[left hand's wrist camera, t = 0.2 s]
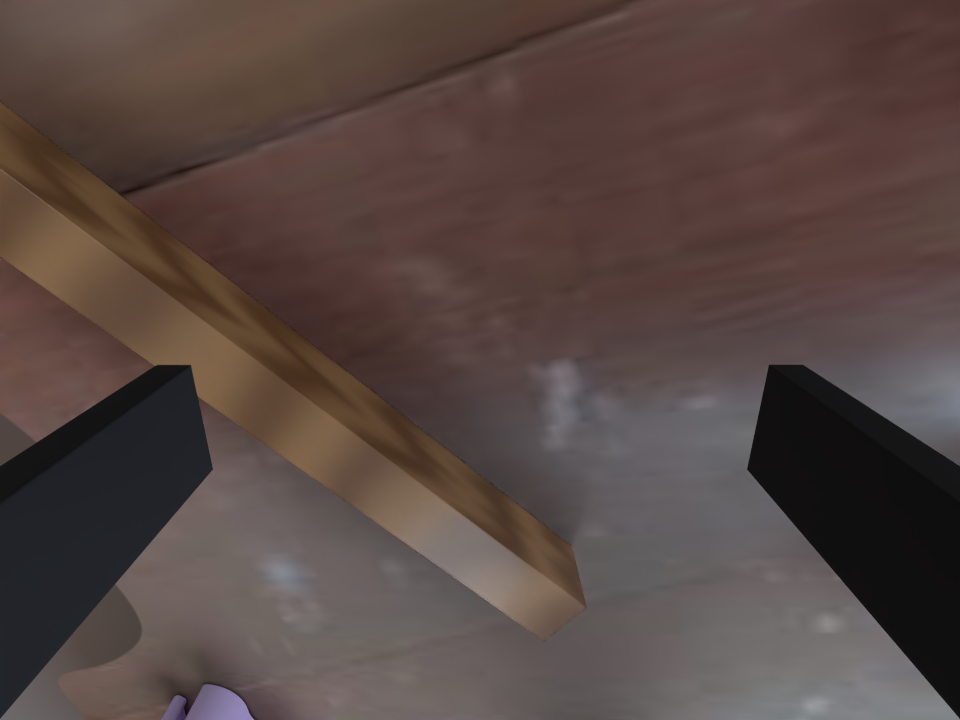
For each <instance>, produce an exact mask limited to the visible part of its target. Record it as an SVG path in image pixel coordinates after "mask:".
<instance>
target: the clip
mask: <svg viewBox="0 0 960 720" xmlns="http://www.w3.org/2000/svg"><path fill="white" fill-rule="evenodd" d="M185 703H186V699H185V698H184V697H182V696H180V695H176V696H174V698H173V700H172V701H171V703H170V705H169V707H168V708H167V710H166V712H165V714H164V715H163V717H162V719H161V720H254V719H253V718H252V717H251V715H250V714H249V711H248V708H247V706H246V705H245V703H244V702H243V700H242V699H241V698H240V697H239V696H237V695H236V694H235V693H233V692H231V691H230V690H228V689H225V688H223V687H220V686H216V685H210V684H205V685H203V687H202V688H201V690H200V692H199V694H198V696H197V698H196V700H195V702H194V703H193V705H192V707H191V709H190V711H189V713H188V715H187V716H186V714H185V711H184V707H185Z"/></svg>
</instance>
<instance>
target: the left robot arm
mask: <svg viewBox="0 0 960 720" xmlns="http://www.w3.org/2000/svg"><path fill="white" fill-rule="evenodd" d="M212 470H213V468H212V463H211V458H210V454H209V449H208V444H207V439H206V435H205V430H204V425H203V420H202V415H201V411H200V406H199V401H198V396H197V392H196V387H195V382H194V377H193V372H192V368H191V365H156V366H155V367H153V368H152V369H150V370H148V371H147V372H145V373H144V374H142V375H141V376H139V377H138V378H136V379H135V380H133V381H131V382H130V383H128V384H127V385H125V386H124V387H122V388H121V389H119V390H118V391H116V392H114V393H113V394H111V395H110V396H108V397H107V398H105V399H104V400H102V401H100V402H99V403H97V404H96V405H94V406H93V407H91V408H90V409H88V410H87V411H85V412H83V413H82V414H80V415H79V416H77V417H76V418H74V419H73V420H71V421H70V422H68V423H66V424H65V425H63V426H62V427H60V428H59V429H57V430H56V431H54V432H53V433H51V434H49V435H48V436H46V437H45V438H43V439H42V440H40V441H39V442H37V443H36V444H34V445H33V446H31V447H29V448H28V449H26V450H25V451H23V452H22V453H20V454H19V455H17V456H15V457H14V458H12V459H11V460H9V461H8V462H6V463H5V464H3V465H1V466H0V718H1V717H2V716H3V715H4V713H5V712H6V711H7V710H8V709H9V708H10V706H11V705H12V704H13V703H14V702H15V700H16V699H17V698H18V697H19V696H20V695H21V693H22V692H23V691H24V690H25V689H26V688H27V686H28V685H29V684H30V683H31V682H32V681H33V679H34V678H35V677H36V676H37V675H38V674H39V672H40V671H41V670H42V669H43V668H44V667H45V665H46V664H47V663H48V662H49V661H50V660H51V658H52V657H53V656H54V655H55V654H56V652H57V651H58V650H59V649H60V648H61V647H62V645H63V644H64V643H65V642H66V641H67V640H68V638H69V637H70V636H71V635H72V634H73V632H74V631H75V630H76V629H77V628H78V627H79V626H80V624H81V623H82V622H83V621H84V620H85V619H86V617H87V616H88V615H89V614H90V613H91V611H92V610H93V609H94V608H95V607H96V606H97V604H98V603H99V602H100V601H101V600H102V599H103V597H104V596H105V595H106V594H107V593H108V592H109V590H110V589H111V588H112V587H113V586H114V585H115V583H116V582H117V581H118V580H119V579H120V577H121V576H122V575H123V574H124V573H125V572H126V570H127V569H128V568H129V567H130V566H131V565H132V563H133V562H134V561H135V560H136V559H137V558H138V556H139V555H140V554H141V553H142V552H143V551H144V549H145V548H146V547H147V546H148V545H149V544H150V542H151V541H152V540H153V539H154V538H155V536H156V535H157V534H158V533H159V532H160V531H161V529H162V528H163V527H164V526H165V525H166V524H167V522H168V521H169V520H170V519H171V518H172V517H173V515H174V514H175V513H176V512H177V511H178V510H179V508H180V507H181V506H182V505H183V504H184V502H185V501H186V500H187V499H188V498H189V497H190V495H191V494H192V493H193V492H194V491H195V490H196V488H197V487H198V486H199V485H200V484H201V483H202V481H203V480H204V479H205V478H206V477H207V476H208V474H209V473H210V472H211V471H212ZM747 470H748V471H749V472H750V473H751V474H752V476H753V477H754V478H755V479H756V480H757V481H758V483H759V484H760V485H761V486H762V487H763V488H764V490H765V491H766V492H767V493H768V494H769V495H770V497H771V498H772V499H773V500H774V501H775V502H776V504H777V505H778V506H779V507H780V508H781V510H782V511H783V512H784V513H785V514H786V515H787V517H788V518H789V519H790V520H791V521H792V522H793V524H794V525H795V526H796V527H797V528H798V529H799V531H800V532H801V533H802V534H803V535H804V536H805V538H806V539H807V540H808V541H809V542H810V544H811V545H812V546H813V547H814V548H815V549H816V551H817V552H818V553H819V554H820V555H821V556H822V558H823V559H824V560H825V561H826V562H827V563H828V565H829V566H830V567H831V568H832V569H833V570H834V572H835V573H836V574H837V575H838V576H839V577H840V579H841V580H842V581H843V582H844V583H845V585H846V586H847V587H848V588H849V589H850V590H851V592H852V593H853V594H854V595H855V596H856V597H857V599H858V600H859V601H860V602H861V603H862V604H863V606H864V607H865V608H866V609H867V610H868V611H869V613H870V614H871V615H872V616H873V617H874V619H875V620H876V621H877V622H878V623H879V624H880V626H881V627H882V628H883V629H884V630H885V631H886V633H887V634H888V635H889V636H890V637H891V638H892V640H893V641H894V642H895V643H896V644H897V645H898V647H899V648H900V649H901V650H902V651H903V653H904V654H905V655H906V656H907V657H908V658H909V660H910V661H911V662H912V663H913V664H914V665H915V667H916V668H917V669H918V670H919V671H920V672H921V674H922V675H923V676H924V677H925V678H926V679H927V681H928V682H929V683H930V684H931V685H932V686H933V688H934V689H935V690H936V691H937V692H938V694H939V695H940V696H941V697H942V698H943V699H944V701H945V702H946V703H947V704H948V705H949V706H950V708H951V709H952V710H953V711H954V712H955V713H956V715H957V716H958V717H959V718H960V466H959V465H957V464H955V463H954V462H952V461H951V460H949V459H948V458H946V457H945V456H943V455H942V454H940V453H938V452H937V451H935V450H934V449H932V448H931V447H929V446H928V445H926V444H924V443H923V442H921V441H920V440H918V439H917V438H915V437H914V436H912V435H911V434H909V433H907V432H906V431H904V430H903V429H901V428H900V427H898V426H897V425H895V424H894V423H892V422H890V421H889V420H887V419H886V418H884V417H883V416H881V415H880V414H878V413H877V412H875V411H873V410H872V409H870V408H869V407H867V406H866V405H864V404H863V403H861V402H860V401H858V400H856V399H855V398H853V397H852V396H850V395H849V394H847V393H846V392H844V391H842V390H841V389H839V388H838V387H836V386H835V385H833V384H832V383H830V382H829V381H827V380H825V379H824V378H822V377H821V376H819V375H818V374H816V373H815V372H813V371H812V370H810V369H808V368H807V367H805V366H804V365H769V368H768V372H767V377H766V382H765V387H764V392H763V396H762V401H761V406H760V411H759V415H758V420H757V425H756V430H755V435H754V439H753V444H752V449H751V454H750V458H749V463H748V468H747Z"/></svg>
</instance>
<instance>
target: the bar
mask: <svg viewBox="0 0 960 720" xmlns="http://www.w3.org/2000/svg"><path fill="white" fill-rule="evenodd" d="M0 257H1V258H3V259H4V260H6V261H7V262H8V263H10V264H11V265H13V266H14V267H16V268H17V269H18V270H20V271H21V272H23V273H24V274H25V275H27V276H28V277H30V278H31V279H32V280H34V281H35V282H37V283H38V284H40V285H41V286H42V287H44V288H45V289H47V290H48V291H49V292H51V293H52V294H54V295H55V296H57V297H58V298H59V299H61V300H62V301H64V302H65V303H66V304H68V305H69V306H71V307H72V308H73V309H75V310H76V311H78V312H79V313H81V314H82V315H83V316H85V317H86V318H88V319H89V320H90V321H92V322H93V323H95V324H96V325H97V326H99V327H100V328H102V329H103V330H105V331H106V332H107V333H109V334H110V335H112V336H113V337H114V338H116V339H117V340H119V341H120V342H121V343H123V344H124V345H126V346H127V347H129V348H130V349H131V350H133V351H134V352H136V353H137V354H138V355H140V356H141V357H143V358H144V359H146V360H147V361H148V362H150V363H151V364H153V365H154V366H156V365H191V368H192V372H193V377H194V382H195V387H196V392H197V396H198V397H199V398H201V399H202V400H203V401H205V402H206V403H208V404H209V405H211V406H212V407H213V408H215V409H216V410H218V411H219V412H220V413H222V414H223V415H225V416H226V417H227V418H229V419H230V420H232V421H233V422H235V423H236V424H237V425H239V426H240V427H242V428H243V429H244V430H246V431H247V432H249V433H250V434H251V435H253V436H254V437H256V438H257V439H259V440H260V441H261V442H263V443H264V444H266V445H267V446H268V447H270V448H271V449H273V450H274V451H275V452H277V453H278V454H280V455H281V456H283V457H284V458H285V459H287V460H288V461H290V462H291V463H292V464H294V465H295V466H297V467H298V468H300V469H301V470H302V471H304V472H305V473H307V474H308V475H309V476H311V477H312V478H314V479H315V480H316V481H318V482H319V483H321V484H322V485H324V486H325V487H326V488H328V489H329V490H331V491H332V492H333V493H335V494H336V495H338V496H339V497H340V498H342V499H343V500H345V501H346V502H348V503H349V504H350V505H352V506H353V507H355V508H356V509H357V510H359V511H360V512H362V513H363V514H364V515H366V516H367V517H369V518H370V519H372V520H373V521H374V522H376V523H377V524H379V525H380V526H381V527H383V528H384V529H386V530H387V531H389V532H390V533H391V534H393V535H394V536H396V537H397V538H398V539H400V540H401V541H403V542H404V543H405V544H407V545H408V546H410V547H411V548H413V549H414V550H415V551H417V552H418V553H420V554H421V555H422V556H424V557H425V558H427V559H428V560H429V561H431V562H432V563H434V564H435V565H437V566H438V567H439V568H441V569H442V570H444V571H445V572H446V573H448V574H449V575H451V576H452V577H454V578H455V579H456V580H458V581H459V582H461V583H462V584H463V585H465V586H466V587H468V588H469V589H470V590H472V591H473V592H475V593H476V594H478V595H479V596H480V597H482V598H483V599H485V600H486V601H487V602H489V603H490V604H492V605H493V606H494V607H496V608H497V609H499V610H500V611H502V612H503V613H504V614H506V615H507V616H509V617H510V618H511V619H513V620H514V621H516V622H517V623H518V624H520V625H521V626H523V627H524V628H526V629H527V630H528V631H530V632H531V633H533V634H534V635H535V636H537V637H538V638H540V639H541V640H543V641H545V640H546V639H548V638H549V637H550V636H551V635H553V634H554V633H555V632H556V631H558V630H559V629H560V628H561V627H563V626H564V625H565V624H566V623H568V622H569V621H570V620H571V619H572V618H574V617H575V616H576V615H577V614H579V613H580V612H581V611H582V610H584V609H585V608H586V603H585V599H584V595H583V591H582V587H581V583H580V578H579V574H578V570H577V566H576V562H575V558H574V553H573V549H572V547H571V546H570V545H569V544H568V543H566V542H565V541H564V540H563V539H561V538H560V537H559V536H557V535H556V534H555V533H554V532H552V531H551V530H550V529H548V528H547V527H546V526H545V525H543V524H542V523H541V522H539V521H538V520H537V519H536V518H534V517H533V516H532V515H530V514H529V513H528V512H527V511H525V510H524V509H523V508H521V507H520V506H519V505H518V504H516V503H515V502H514V501H512V500H511V499H510V498H509V497H507V496H506V495H505V494H503V493H502V492H501V491H500V490H498V489H497V488H496V487H494V486H493V485H492V484H491V483H489V482H488V481H487V480H485V479H484V478H483V477H482V476H480V475H479V474H478V473H476V472H475V471H474V470H473V469H471V468H470V467H469V466H467V465H466V464H465V463H464V462H462V461H461V460H460V459H458V458H457V457H456V456H455V455H453V454H452V453H451V452H449V451H448V450H447V449H446V448H444V447H443V446H442V445H440V444H439V443H438V442H437V441H435V440H434V439H433V438H431V437H430V436H429V435H428V434H426V433H425V432H424V431H422V430H421V429H420V428H419V427H417V426H416V425H415V424H413V423H412V422H411V421H410V420H408V419H407V418H406V417H404V416H403V415H402V414H401V413H399V412H398V411H397V410H395V409H394V408H393V407H392V406H390V405H389V404H388V403H386V402H385V401H384V400H383V399H381V398H380V397H379V396H378V395H376V394H375V393H374V392H372V391H371V390H370V389H369V388H367V387H366V386H365V385H363V384H362V383H361V382H360V381H358V380H357V379H356V378H354V377H353V376H352V375H351V374H349V373H348V372H347V371H345V370H344V369H343V368H342V367H340V366H339V365H338V364H336V363H335V362H334V361H333V360H331V359H330V358H329V357H327V356H326V355H325V354H324V353H322V352H321V351H320V350H318V349H317V348H316V347H315V346H313V345H312V344H311V343H309V342H308V341H307V340H306V339H304V338H303V337H302V336H300V335H299V334H298V333H297V332H295V331H294V330H293V329H291V328H290V327H289V326H288V325H286V324H285V323H284V322H282V321H281V320H280V319H279V318H277V317H276V316H275V315H273V314H272V313H271V312H270V311H268V310H267V309H266V308H264V307H263V306H262V305H261V304H259V303H258V302H257V301H255V300H254V299H253V298H252V297H250V296H249V295H248V294H246V293H245V292H244V291H243V290H241V289H240V288H239V287H237V286H236V285H235V284H234V283H232V282H231V281H230V280H228V279H227V278H226V277H225V276H223V275H222V274H221V273H219V272H218V271H217V270H216V269H214V268H213V267H212V266H210V265H209V264H208V263H207V262H205V261H204V260H203V259H201V258H200V257H199V256H198V255H196V254H195V253H194V252H192V251H191V250H190V249H189V248H187V247H186V246H185V245H184V244H182V243H181V242H180V241H178V240H177V239H176V238H175V237H173V236H172V235H171V234H169V233H168V232H167V231H166V230H164V229H163V228H162V227H160V226H159V225H158V224H157V223H155V222H154V221H153V220H151V219H150V218H149V217H148V216H146V215H145V214H144V213H142V212H141V211H140V210H139V209H137V208H136V207H135V206H133V205H132V204H131V203H130V202H128V201H127V200H126V199H124V198H123V197H122V196H121V195H119V194H118V193H117V192H115V191H114V190H113V189H112V188H110V187H109V186H108V185H106V184H105V183H104V182H103V181H101V180H100V179H99V178H97V177H96V176H95V175H94V174H92V173H91V172H90V171H88V170H87V169H86V168H85V167H83V166H82V165H81V164H79V163H78V162H77V161H76V160H74V159H73V158H72V157H70V156H69V155H68V154H67V153H65V152H64V151H63V150H61V149H60V148H59V147H58V146H56V145H55V144H54V143H52V142H51V141H50V140H49V139H47V138H46V137H45V136H43V135H42V134H41V133H40V132H38V131H37V130H36V129H34V128H33V127H32V126H31V125H29V124H28V123H27V122H25V121H24V120H23V119H22V118H20V117H19V116H18V115H16V114H15V113H14V112H13V111H11V110H10V109H9V108H7V107H6V106H5V105H4V104H2V103H1V102H0Z"/></svg>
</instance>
